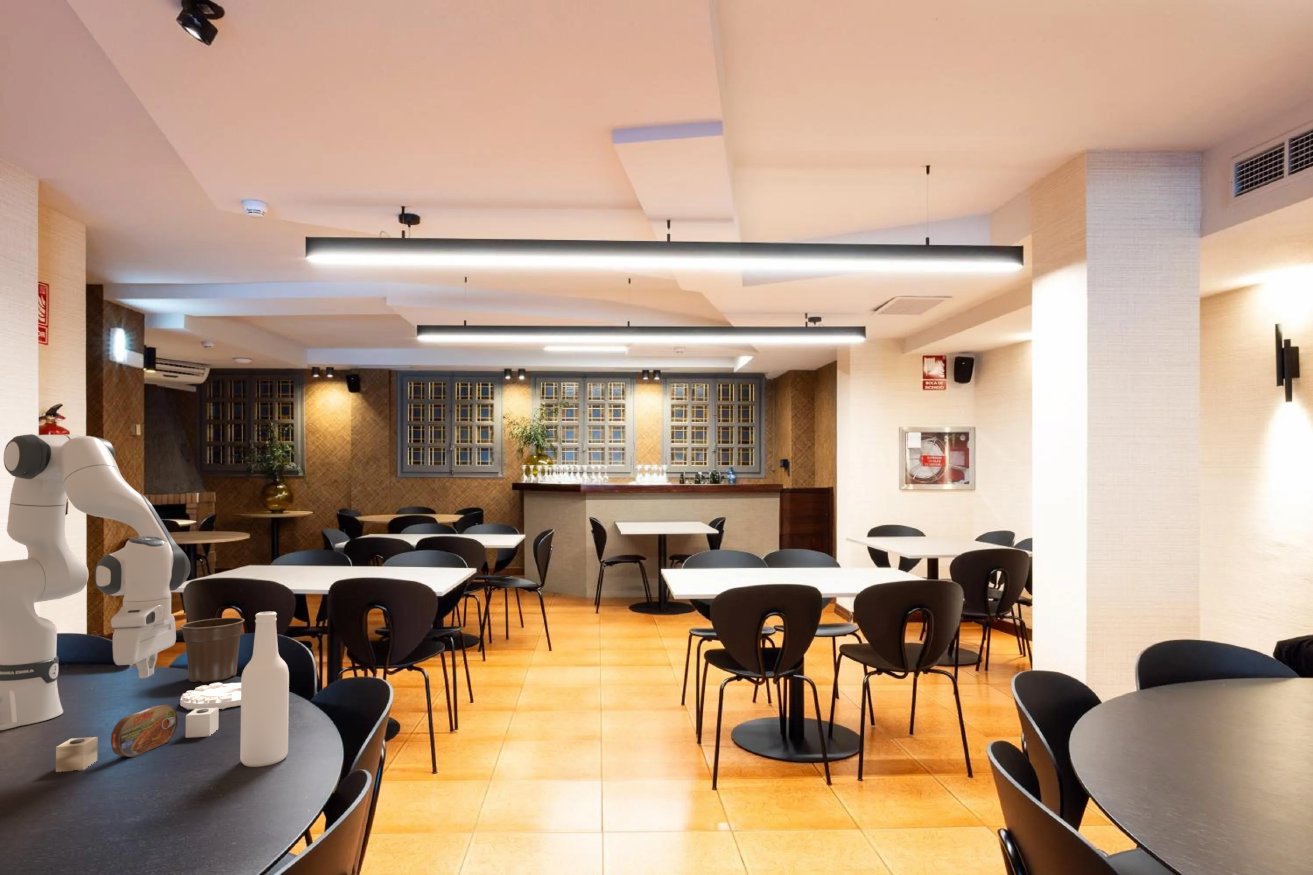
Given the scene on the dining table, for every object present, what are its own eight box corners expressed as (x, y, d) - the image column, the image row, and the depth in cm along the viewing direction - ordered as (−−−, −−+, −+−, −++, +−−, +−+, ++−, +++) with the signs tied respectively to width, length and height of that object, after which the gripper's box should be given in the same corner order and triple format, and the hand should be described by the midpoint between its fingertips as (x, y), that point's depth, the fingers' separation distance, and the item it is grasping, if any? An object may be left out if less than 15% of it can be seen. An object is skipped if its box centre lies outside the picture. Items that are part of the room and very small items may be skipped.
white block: (185, 737, 174) (185, 714, 174) (195, 730, 179) (195, 707, 179) (209, 736, 174) (209, 713, 175) (218, 729, 179) (218, 706, 180)
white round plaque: (279, 700, 204) (279, 688, 204) (196, 717, 189) (196, 705, 189) (249, 686, 217) (249, 676, 217) (169, 702, 203) (169, 690, 203)
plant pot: (171, 678, 225) (172, 623, 226) (230, 667, 238) (231, 615, 239) (192, 688, 215) (193, 629, 216) (253, 676, 227) (253, 620, 228)
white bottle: (297, 754, 162) (299, 610, 163) (263, 769, 153) (265, 617, 155) (265, 750, 165) (266, 608, 166) (230, 764, 156) (232, 615, 158)
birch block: (55, 772, 154) (56, 745, 154) (70, 763, 159) (70, 737, 159) (83, 770, 155) (83, 743, 155) (97, 761, 160) (97, 735, 160)
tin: (119, 762, 159) (120, 721, 159) (107, 762, 159) (107, 720, 160) (178, 738, 173) (179, 700, 174) (167, 737, 174) (167, 699, 174)
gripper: (154, 605, 178) (153, 665, 177) (106, 621, 157) (105, 689, 157) (184, 603, 179) (183, 664, 178) (140, 619, 158) (139, 687, 158)
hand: (146, 676), depth 167 cm, fingers closed
